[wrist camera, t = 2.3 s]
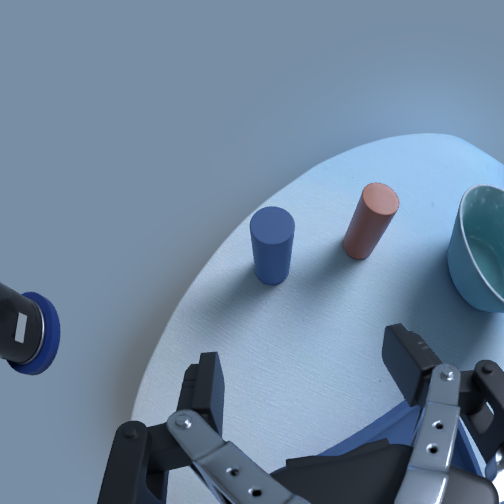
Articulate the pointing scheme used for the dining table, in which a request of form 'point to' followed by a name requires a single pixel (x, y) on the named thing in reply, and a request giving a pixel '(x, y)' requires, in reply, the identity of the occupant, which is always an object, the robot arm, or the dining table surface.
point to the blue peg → (272, 243)
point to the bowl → (479, 248)
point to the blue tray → (406, 437)
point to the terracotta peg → (370, 220)
